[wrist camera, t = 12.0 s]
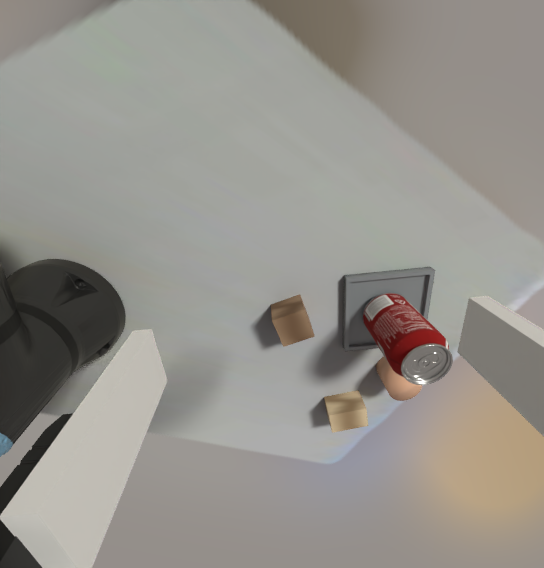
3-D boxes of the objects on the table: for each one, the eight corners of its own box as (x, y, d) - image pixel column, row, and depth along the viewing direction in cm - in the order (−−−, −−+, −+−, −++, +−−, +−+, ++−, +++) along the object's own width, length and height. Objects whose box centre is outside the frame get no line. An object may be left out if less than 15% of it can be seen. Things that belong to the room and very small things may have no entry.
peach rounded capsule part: (375, 378, 48) (387, 402, 44) (377, 355, 46) (390, 376, 42) (404, 376, 48) (419, 398, 44) (407, 351, 46) (424, 373, 42)
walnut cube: (281, 328, 43) (283, 346, 39) (270, 304, 42) (271, 320, 38) (309, 319, 43) (314, 336, 39) (299, 294, 41) (304, 309, 37)
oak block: (326, 412, 51) (332, 432, 47) (323, 396, 49) (329, 415, 46) (360, 406, 51) (368, 425, 47) (358, 389, 49) (366, 408, 46)
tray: (342, 346, 45) (344, 351, 44) (344, 275, 40) (346, 278, 39) (419, 338, 45) (423, 343, 44) (430, 266, 40) (435, 269, 39)
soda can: (353, 304, 41) (387, 358, 31) (397, 282, 40) (448, 329, 29) (371, 337, 44) (408, 398, 33) (413, 317, 43) (465, 373, 32)
